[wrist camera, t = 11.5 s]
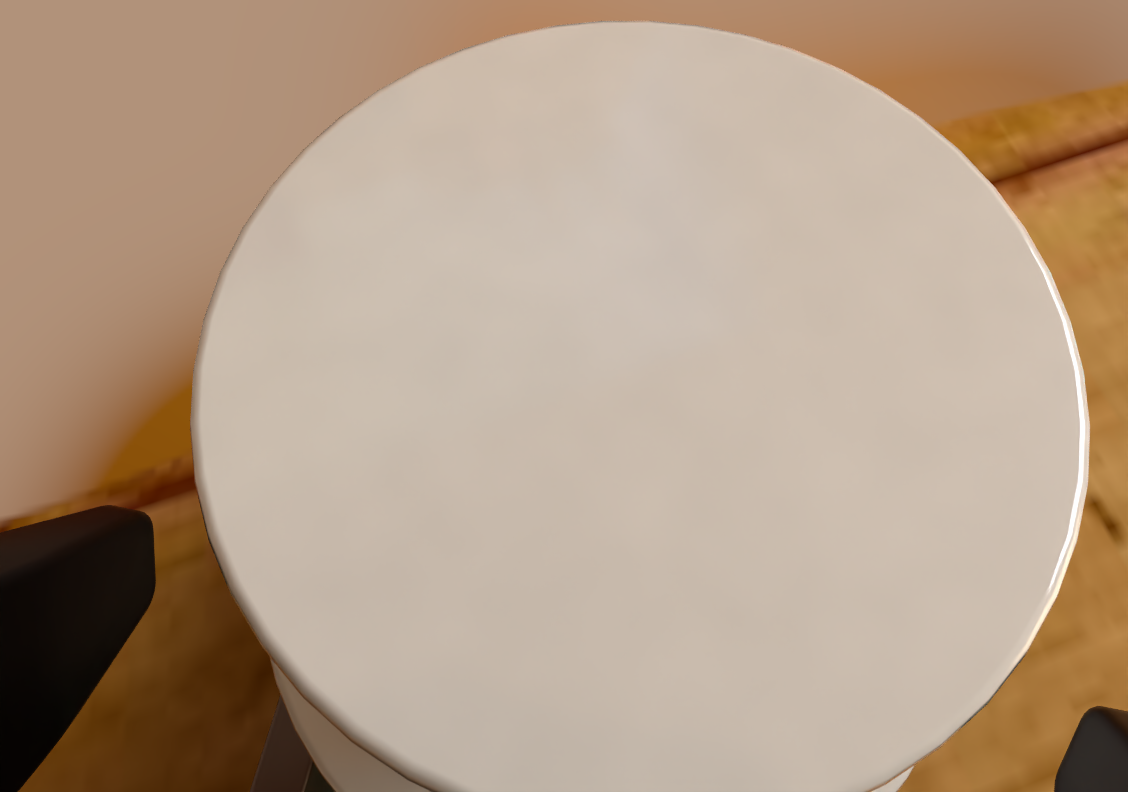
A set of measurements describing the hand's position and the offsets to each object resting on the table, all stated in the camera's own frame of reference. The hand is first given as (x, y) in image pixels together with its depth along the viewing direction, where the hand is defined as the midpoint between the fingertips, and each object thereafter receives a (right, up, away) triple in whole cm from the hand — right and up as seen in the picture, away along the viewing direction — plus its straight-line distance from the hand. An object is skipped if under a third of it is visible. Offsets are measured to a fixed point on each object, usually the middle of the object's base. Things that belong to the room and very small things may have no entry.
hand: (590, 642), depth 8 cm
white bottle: (0, -3, +8) cm, 9 cm away
